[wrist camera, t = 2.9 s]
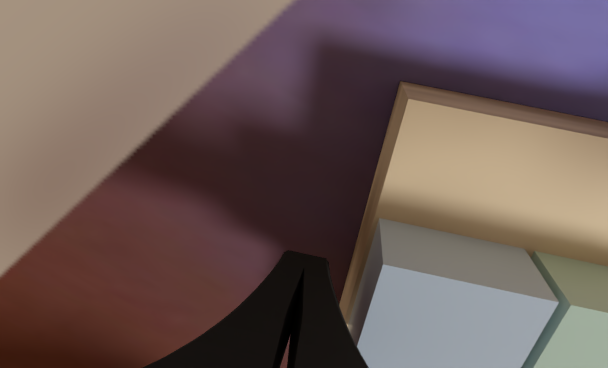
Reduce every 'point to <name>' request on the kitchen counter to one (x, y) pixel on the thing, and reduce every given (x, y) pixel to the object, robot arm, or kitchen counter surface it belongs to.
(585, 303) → the tile
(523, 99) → the kitchen counter surface
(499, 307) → the tile
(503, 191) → the oak plate
